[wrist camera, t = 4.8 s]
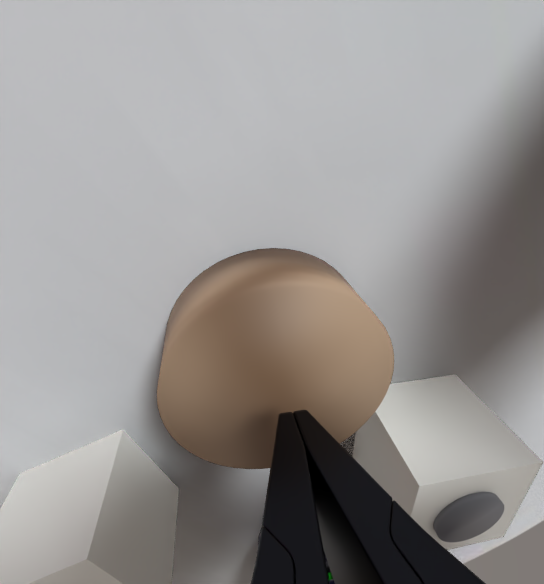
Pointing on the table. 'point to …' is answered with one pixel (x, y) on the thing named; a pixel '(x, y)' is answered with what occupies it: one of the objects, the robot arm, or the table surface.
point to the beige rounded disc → (268, 356)
